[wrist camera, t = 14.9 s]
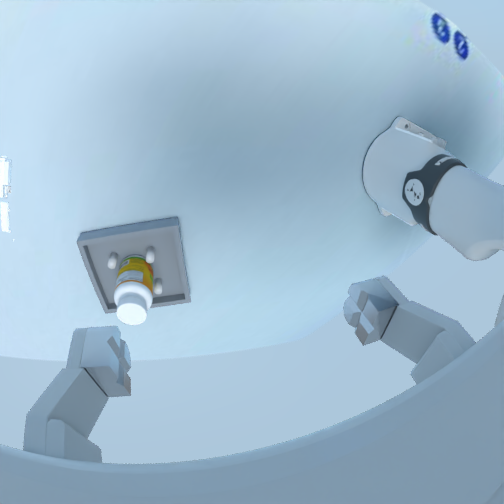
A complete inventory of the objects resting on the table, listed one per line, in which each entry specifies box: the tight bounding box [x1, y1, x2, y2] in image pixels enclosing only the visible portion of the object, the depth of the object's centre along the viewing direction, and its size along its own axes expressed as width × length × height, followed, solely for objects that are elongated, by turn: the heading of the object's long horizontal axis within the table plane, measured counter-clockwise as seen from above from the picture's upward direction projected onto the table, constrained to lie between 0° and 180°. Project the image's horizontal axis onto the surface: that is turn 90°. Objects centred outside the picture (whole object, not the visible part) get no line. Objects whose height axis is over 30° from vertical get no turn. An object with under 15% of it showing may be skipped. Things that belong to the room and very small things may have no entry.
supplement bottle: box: [114, 255, 153, 325], centre depth 35 cm, size 5×5×10 cm
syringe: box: [0, 156, 14, 241], centre depth 28 cm, size 20×5×2 cm, turn 163°
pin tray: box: [77, 217, 191, 313], centre depth 38 cm, size 15×14×4 cm
